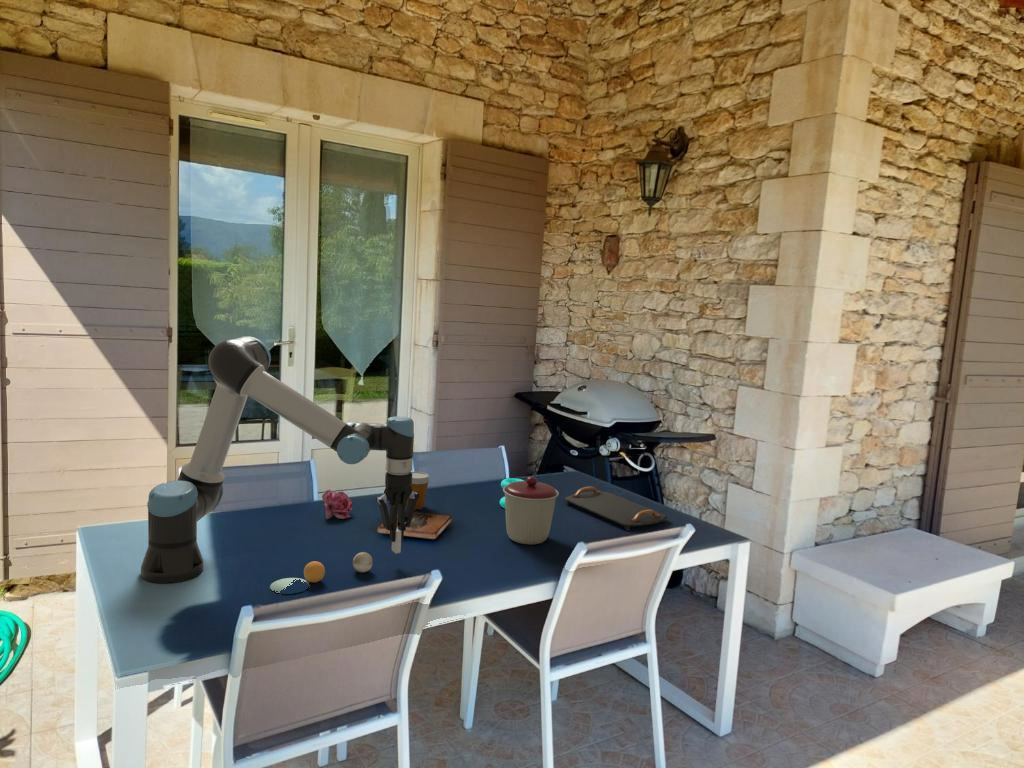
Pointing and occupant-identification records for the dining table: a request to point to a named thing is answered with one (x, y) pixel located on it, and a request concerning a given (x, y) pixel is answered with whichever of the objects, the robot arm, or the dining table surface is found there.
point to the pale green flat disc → (284, 584)
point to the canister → (529, 510)
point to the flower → (337, 504)
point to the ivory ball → (362, 562)
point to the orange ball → (314, 571)
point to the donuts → (503, 484)
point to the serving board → (615, 508)
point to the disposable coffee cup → (420, 487)
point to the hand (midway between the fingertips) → (396, 551)
